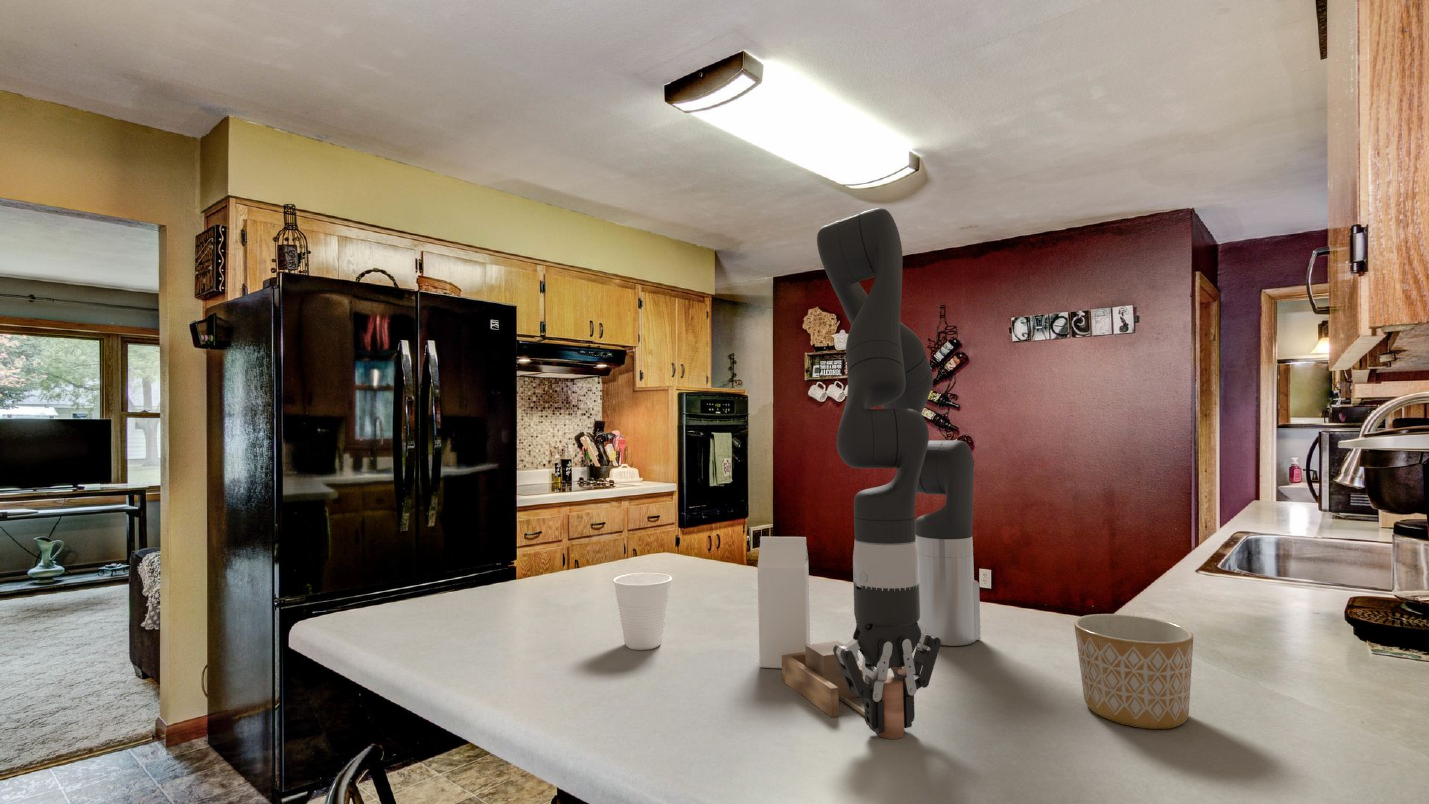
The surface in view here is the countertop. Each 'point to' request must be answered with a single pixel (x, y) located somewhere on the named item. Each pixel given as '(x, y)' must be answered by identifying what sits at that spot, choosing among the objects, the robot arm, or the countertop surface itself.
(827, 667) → the tethered walnut block
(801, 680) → the frame
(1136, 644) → the planter
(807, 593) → the milk carton
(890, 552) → the robot arm
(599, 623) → the countertop surface
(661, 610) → the cup
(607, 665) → the countertop surface
